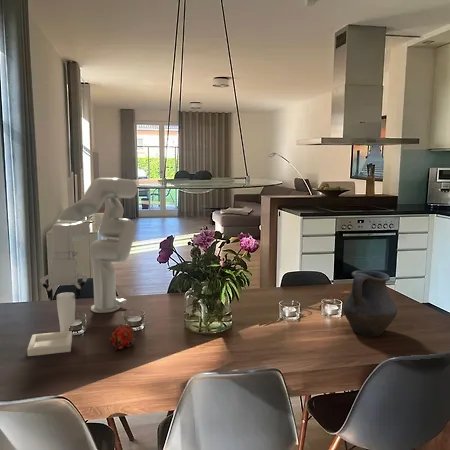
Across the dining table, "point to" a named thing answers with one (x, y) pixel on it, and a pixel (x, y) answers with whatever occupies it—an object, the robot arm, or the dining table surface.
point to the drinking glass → (66, 310)
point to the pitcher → (369, 303)
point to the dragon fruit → (122, 336)
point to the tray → (50, 343)
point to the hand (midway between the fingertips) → (64, 299)
